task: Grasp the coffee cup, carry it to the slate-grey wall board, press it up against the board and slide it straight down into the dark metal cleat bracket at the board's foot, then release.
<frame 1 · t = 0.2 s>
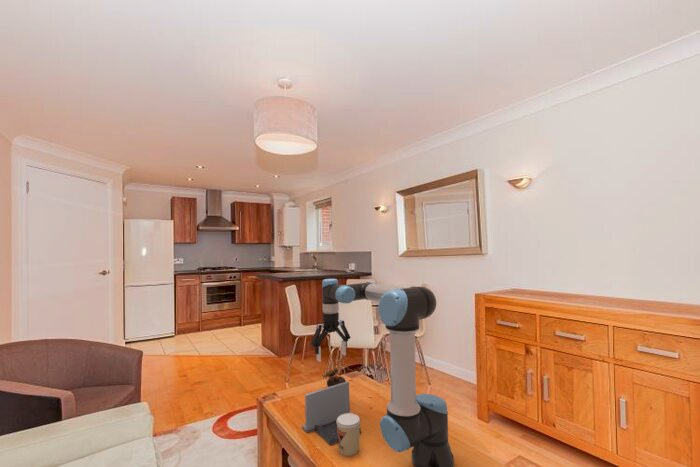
hand: (331, 357, 157), 28 cm above the table, fingers open, 13 cm apart
music box: (336, 407, 165), on the table
cleat bracket: (336, 430, 145), on the table
wall board: (328, 424, 150), on the table
coffee cup: (348, 450, 132), on the table
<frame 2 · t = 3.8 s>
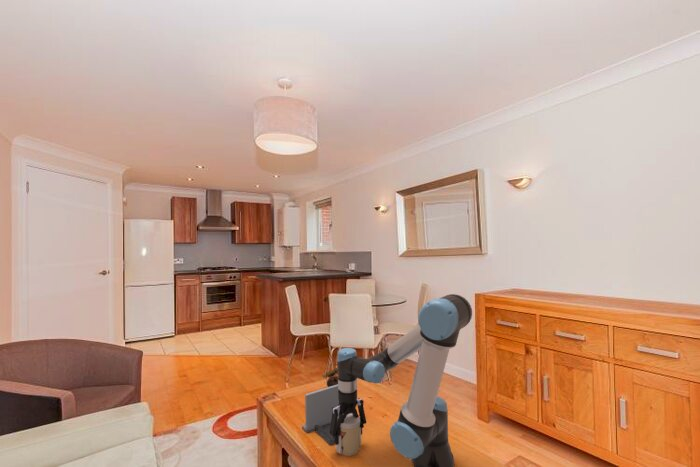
hand: (348, 447, 132), 1 cm above the table, fingers closed on coffee cup, 9 cm apart
coffee cup: (348, 450, 132), on the table, touching gripper
everything else where it was.
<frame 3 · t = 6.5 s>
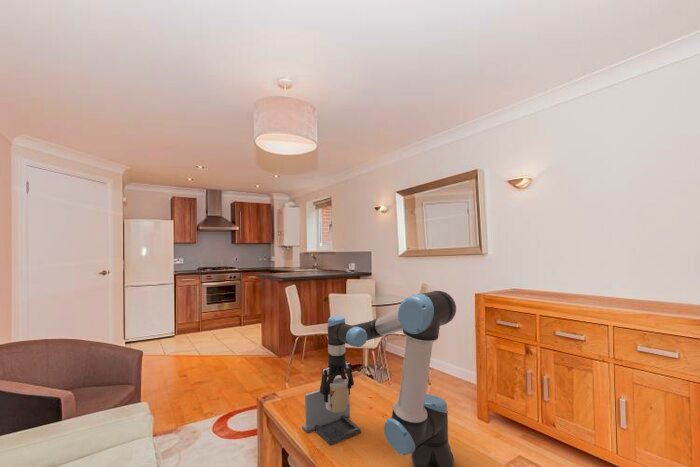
hand: (337, 405, 144), 11 cm above the table, fingers closed on coffee cup, 9 cm apart
coffee cup: (337, 408, 144), point 10 cm above the table, touching gripper
everything else where it was.
when the fingers open (3 cm above the table, at t = 9.2 s): coffee cup drops 2 cm, resting on cleat bracket.
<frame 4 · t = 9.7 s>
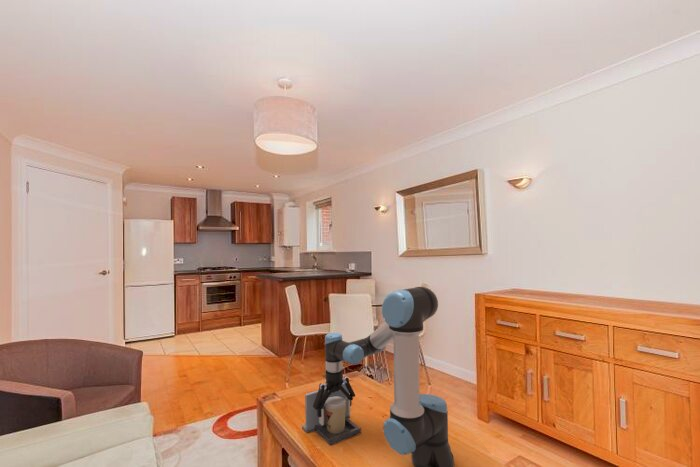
hand: (335, 418, 146), 5 cm above the table, fingers open, 13 cm apart
coffee cup: (335, 429, 146), resting on cleat bracket
everything else where it was.
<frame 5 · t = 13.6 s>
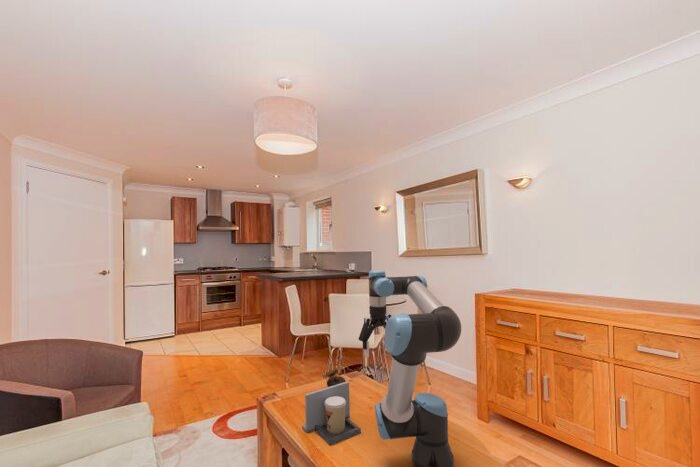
hand: (378, 353, 149), 32 cm above the table, fingers open, 13 cm apart
nothing on the table moved.
at the end: coffee cup inside the target area on the cleat bracket (0.9 cm from its centre), point 0.2 cm above the cleat bracket's base; coffee cup tilted 0°; the gripper is holding nothing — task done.
